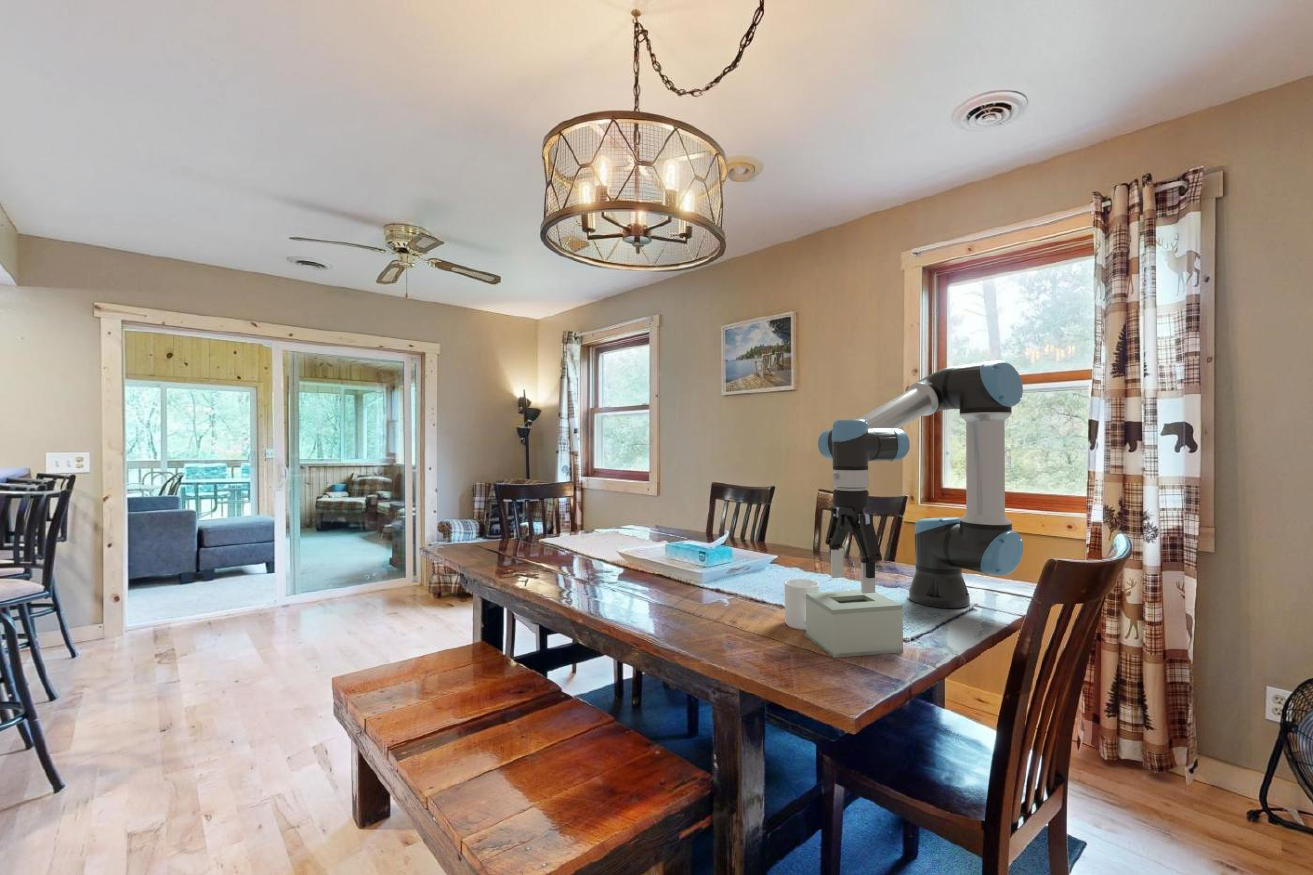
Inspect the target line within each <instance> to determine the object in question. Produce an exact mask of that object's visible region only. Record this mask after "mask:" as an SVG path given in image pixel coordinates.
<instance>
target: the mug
mask: <svg viewBox="0 0 1313 875" xmlns="http://www.w3.org/2000/svg"><path fill="white" fill-rule="evenodd" d="M806 593H820V583H819V582H818V581H816V580H814V579H813V580H812V579H808V578H791V579H788V580H785V581H784V620H785V624H786V625H787V626H788V627H789V628H792V629H795V630H800V631H806Z"/></svg>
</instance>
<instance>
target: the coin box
mask: <svg viewBox="0 0 1313 875" xmlns="http://www.w3.org/2000/svg"><path fill="white" fill-rule="evenodd" d="M903 617H904V613H903V604H901V603H899V602H897V601H895V600H893V599H891V598H889V597H886V596H885V595H882V594H881V593H878V592H876V591H875V593H865V594H863V593H861V589H855V590H854V589H853V590H837V591H823V592H822V591H821V592H820V591H819V593H806V630H805V632H806V638H807V639H809V640H810V641H811V642H813V644H815V645H816V646H818V648H820V649H822V650H823V651H824V652H825V653H826V654H828V656H831V657H832V659H837V658H838V659H839V658H849V657H859V656H862V657H863V656H872V655H873V656H874V655H885V654H896V653H897V654H899V653H903V652H904V618H903Z"/></svg>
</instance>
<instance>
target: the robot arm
mask: <svg viewBox="0 0 1313 875" xmlns="http://www.w3.org/2000/svg"><path fill="white" fill-rule="evenodd" d="M1023 393H1024V388H1023V381H1022V379H1021V376H1020V373H1019V372H1018V370H1017V369H1016V368H1015V367H1014V366H1013V364H1011V363H1010V362H1007V361H1004V360H994V361H993V360H991V361H990V360H988V361H983V362H977V363H976V362H975V363H968V364H962V365H954V366H953V365H952V366H949V367H945V368H942V369H939V370H937V371H936V372H932V373H930V374H929V375H927V376H925V377H924V378H921V379H920V380H917V381H916V382H914V383H912V384H911V385H909V386H908V388H907V389H906V391H905V392H904V393H902V394H900V395H899V396H898V395H897V396H896V397H894V398H893V399H891V400H890V401H887V402H886V403H884V404H882V405H880V406H878V407H877V408H875V409H873V410H871V411H870V412H867V413H866V414H864V415H862V416H861V417H859V418H857V419H853V418H852V419H850V418H849V419H837V420H835V421H834V422H833V423H832V428H831V429H827V430H824V431H822V432H821V434H819V436H818V440H817V448H818V451H819V454H821V455H822V457H824V458H826V459H831V460H832V474H831V477H832V485H833V487H834V488H835V489H833V491H832V504H833V506H834V507H831V509H830V520H829V523H828V524H829V525H828V529H827V533H826V537H825V541H824V542H825V545H828V548H829V549H830V571H831V572H830V576H831V578H832V579H840V578H841V579H842V578H844V546H843V545H844V544H843V543H844V542H845V539H846V538H847V535H848V533H850V534H851V535H852V536H853V537H854V539H855V542H856V544H857V548H858V550H859V553H860V555H861V558H862V559H861V560H860V576H861V577H860V579H861V580H860V582H861V583H860V584H861V586H860V587H861V589H860V590H861V593H863V594H865V593H875V592H876V563H877V562H881V561H882V560H883V556H882V553H881V548H880V544H879V541H878V537H877V534H876V531H875V530H876V529H875V526H874V516H873V514H871V513H864V509H865V508H867V507H869V504H870V498H869V496H870V493H869V491H868V490H867V488H869V486H870V484H869V483H870V482H869V462H883V461H885V462H886V461H888V462H893V461H899V460H901V459H902V460H903V458H904V459H905V457H906V456H907V455H908V453H909V451H910V445H911V444H910V439H909V436H908V434H907V433H906V432H905V431H904V430H903V429H901V428H903V427H904V426H906V425H908V424H910V423H911V422H913V421H914V420H916V419H919V418H920V417H922V416H924V417H927V416H931V415H933V414H934V413H937V412H940V411H941V412H942V411H947V410H959V417H961V418H962V419H963V420H965V423H966V424H965V434H966V435H965V440H966V441H965V442H966V444H965V447H966V448H965V450H966V451H965V455H966V459H965V461H966V463H965V464H966V466H965V468H966V469H965V471H966V472H965V474H966V475H965V476H966V481H965V483H966V484H965V486H966V487H965V488H966V491H965V492H966V495H965V496H966V500H965V501H966V503H965V504H966V512H965V514H964V515H963V516H962V517H958V516H955V517H954V516H953V517H952V516H951V517H950V516H949V517H944V516H943V517H929V518H921V519H918V520H917V521H916V522H915V526H914V528H915V529H914V557H915V558H914V559H915V572H914V575H913V577H912V580H911V584H910V587H909V589H908V598H909V599H910V600H911V601H912V602H914V603H917V604H918V605H919V604H920V605H923V606H928V607H933V608H943V609H961V608H966V607H969V606H970V604H971V596H970V593H969V591H968V588H967V585H966V581H965V580H964V577H963V570H968V571H971V572H972V571H973V572H976V573H982V574H984V575H986V576H991V575H992V576H998V577H1005V576H1008V575H1010V574H1012V573H1013V572H1014V571H1015V570H1016V569H1017V567H1018V566H1019V564H1020V563H1021V561H1022V559H1023V558H1022V557H1023V556H1024V555H1023V554H1024V541H1023V539H1022V536H1021V534H1019V533H1018V532H1016V531H1015V530H1013V521H1012V520H1010V519H1009V518H1008V517H1007V516H1006V496H1005V495H1006V486H1005V484H1006V481H1005V480H1006V476H1005V475H1006V468H1005V467H1006V465H1005V464H1006V463H1005V461H1006V460H1005V458H1006V453H1005V452H1006V450H1005V449H1006V448H1005V447H1006V446H1005V445H1006V444H1005V443H1006V441H1005V440H1006V439H1005V437H1006V435H1005V430H1006V429H1005V427H1006V426H1005V425H1006V424H1005V422H1006V420H1007V419H1008V418H1009V417H1011V415H1012V408H1013V407H1014V406H1016V405H1018V404H1019V403H1020V402H1021V399H1022V397H1023Z"/></svg>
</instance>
